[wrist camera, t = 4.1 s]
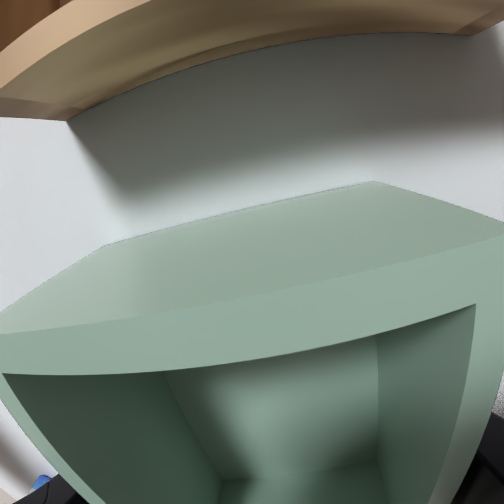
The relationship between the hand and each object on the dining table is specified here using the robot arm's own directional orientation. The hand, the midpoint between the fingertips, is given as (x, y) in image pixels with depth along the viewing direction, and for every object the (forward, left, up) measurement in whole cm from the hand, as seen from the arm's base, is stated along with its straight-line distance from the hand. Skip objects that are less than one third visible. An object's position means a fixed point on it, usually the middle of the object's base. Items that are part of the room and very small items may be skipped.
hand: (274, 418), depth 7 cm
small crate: (0, 0, -2) cm, 2 cm away
